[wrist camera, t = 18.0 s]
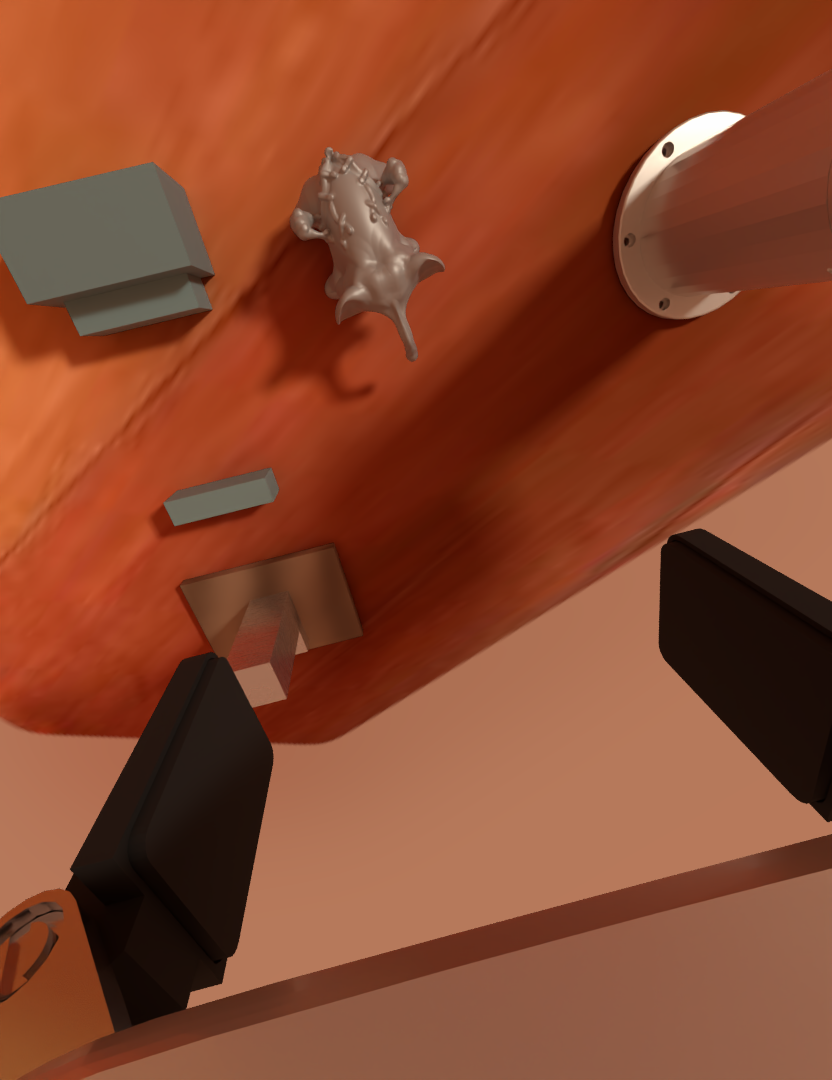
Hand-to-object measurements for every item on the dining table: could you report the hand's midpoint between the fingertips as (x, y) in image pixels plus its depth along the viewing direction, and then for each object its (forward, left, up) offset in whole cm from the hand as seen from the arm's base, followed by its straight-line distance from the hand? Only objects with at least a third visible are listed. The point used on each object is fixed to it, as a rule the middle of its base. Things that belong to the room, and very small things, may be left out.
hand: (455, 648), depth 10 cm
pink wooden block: (+14, +16, -29) cm, 36 cm away
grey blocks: (+14, -7, -30) cm, 34 cm away
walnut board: (+14, +15, -30) cm, 37 cm away
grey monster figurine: (-2, -10, -31) cm, 32 cm away
